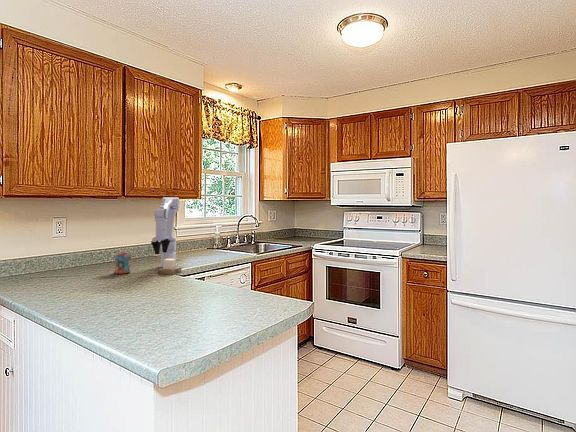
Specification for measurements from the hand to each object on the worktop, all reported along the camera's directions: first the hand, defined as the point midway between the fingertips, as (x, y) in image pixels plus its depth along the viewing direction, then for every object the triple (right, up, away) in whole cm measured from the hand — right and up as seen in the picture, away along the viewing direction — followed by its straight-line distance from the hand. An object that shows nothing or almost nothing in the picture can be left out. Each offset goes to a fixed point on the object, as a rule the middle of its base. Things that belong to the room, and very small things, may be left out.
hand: (160, 253), depth 208 cm
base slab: (+6, -11, -3) cm, 13 cm away
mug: (-18, -11, -6) cm, 22 cm away
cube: (+6, -8, -3) cm, 11 cm away
